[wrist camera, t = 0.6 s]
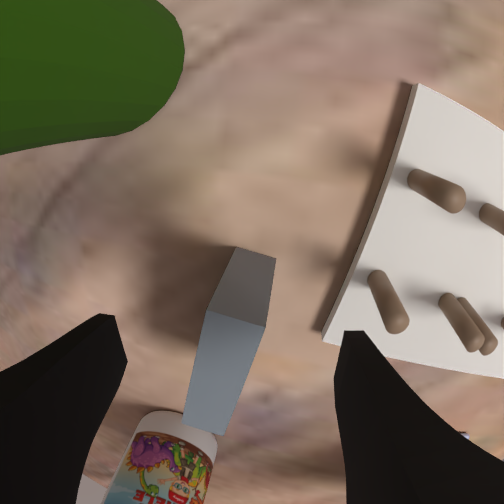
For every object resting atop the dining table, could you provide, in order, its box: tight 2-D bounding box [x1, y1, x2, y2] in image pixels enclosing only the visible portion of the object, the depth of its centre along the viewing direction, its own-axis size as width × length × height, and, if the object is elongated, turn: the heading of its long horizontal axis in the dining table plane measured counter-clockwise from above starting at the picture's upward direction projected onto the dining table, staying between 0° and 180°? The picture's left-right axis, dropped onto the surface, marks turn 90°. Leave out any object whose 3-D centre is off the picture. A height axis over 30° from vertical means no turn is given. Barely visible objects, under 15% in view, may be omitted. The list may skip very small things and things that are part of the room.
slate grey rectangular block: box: [181, 247, 276, 436], centre depth 17 cm, size 8×2×7 cm, turn 165°
